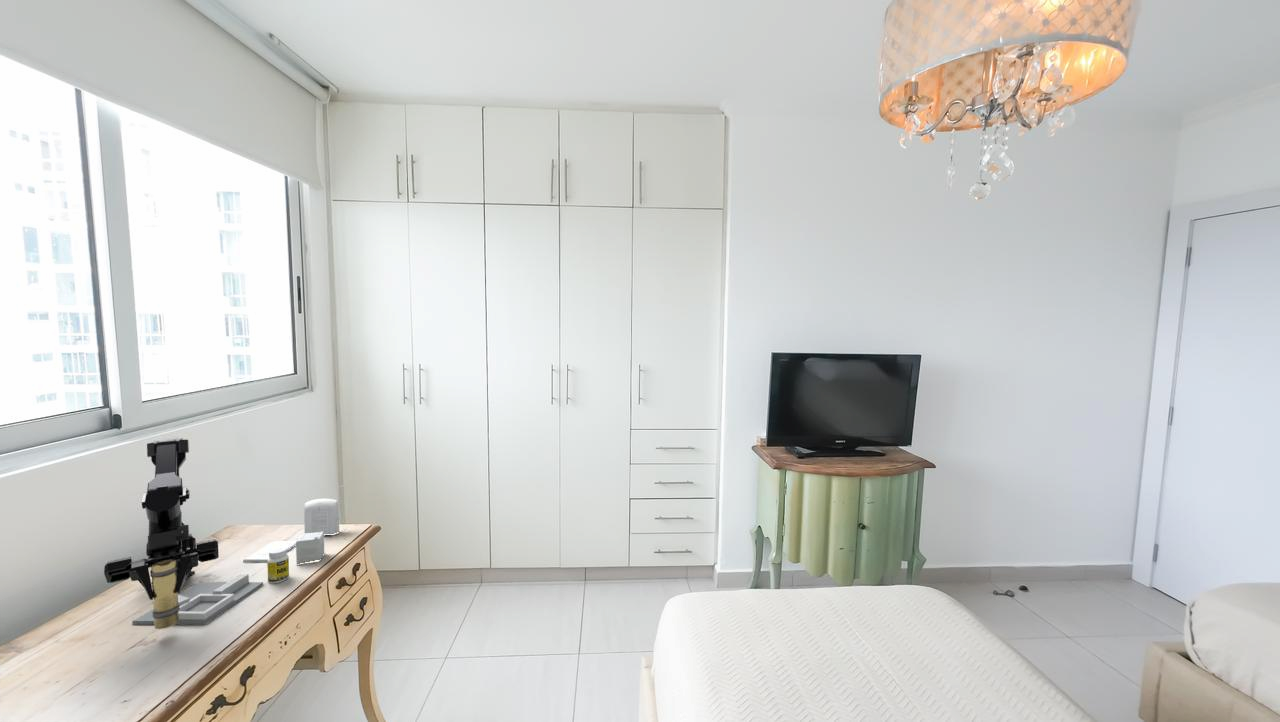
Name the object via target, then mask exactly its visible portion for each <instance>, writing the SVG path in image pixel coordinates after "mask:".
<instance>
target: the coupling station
mask: <svg viewBox="0 0 1280 722" xmlns="http://www.w3.org/2000/svg"><path fill="white" fill-rule="evenodd" d="M249 579H250V578H249V574H247V573H246V574H245V573H243V574H241V573H240V574H238V575H236V576H235V577H233V578H232V579H230V580H228V581H199V582H198V583H196V584H194V585H193V586H191V587H188V589H185V590H184V591H182V592H180V593H178V604H179V605H180V610H179V622H178V623H176V624H175V625H176V626H177V625H178V626H179V625H185V626H187V625H189V626H190V625H193V626H194V625H195V626H196V625H197V626H202V625H203V626H204V625H207V624H208V623H210V622H211V621H212V620H214V619H215V618H217V617H219V616H220V615H221V614H224V612H226V611H228V610H229V609H230V608H232V607H234V606H235V605H236V604H238V603H239V602H241V601H242V600H243V598H244V599H245V598H246V596H247V597H248V596H249V595H251V594H253V593H254V592H255V591H257V590H258V589H260V588H261V587H263V586H264V582H263V581H258V582H257V581H249ZM262 585H263V586H262ZM240 600H241V601H240ZM237 602H238V603H237ZM153 611H154V608H152V609H150V610H149V611H147V612H145V613H143V614H141V615H140V616H139V617H136V618H134V619H133V620H132V622H131V625H154V618H153ZM218 615H219V616H218Z"/></svg>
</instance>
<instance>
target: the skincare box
mask: <svg viewBox="0 0 1280 722" xmlns="http://www.w3.org/2000/svg"><path fill="white" fill-rule="evenodd" d="M295 541H296V546H295V549H296V550H295V552H296V553H295V556H296V557H295V558H296V560H295V561H296V565H297V564H300V563H305V562H310V561H315V560H320V559H321V558H322V559H323V557H324V555H325V536H324V532H315V533H305V532H304V533H301V534H300V535H299V536H298V537H297V539H296V540H295ZM323 554H324V555H323ZM322 556H323V557H322ZM322 559H321V560H322Z"/></svg>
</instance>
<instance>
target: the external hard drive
mask: <svg viewBox="0 0 1280 722" xmlns="http://www.w3.org/2000/svg"><path fill="white" fill-rule="evenodd" d="M296 541H297V540H295V541H294V540H293V541H291V540H288V541H285V540H281V541H280V540H278V541H277V540H275V541H272V542H270V543H268V544H267V545H266V546H264V547H262V548H260V549H259V550H257V551H256V552H254V553H252V554H250V555H249V556H247V557H245V558H243V560H242V562H243V563H267V561H268V559H269V551H271V550H272V549H275V548H280V547H285V548H287V550H289V549H290V548H292V547H293V546H295V545H296ZM295 547H296V546H295ZM292 549H293V548H292ZM289 551H290V550H289Z"/></svg>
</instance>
